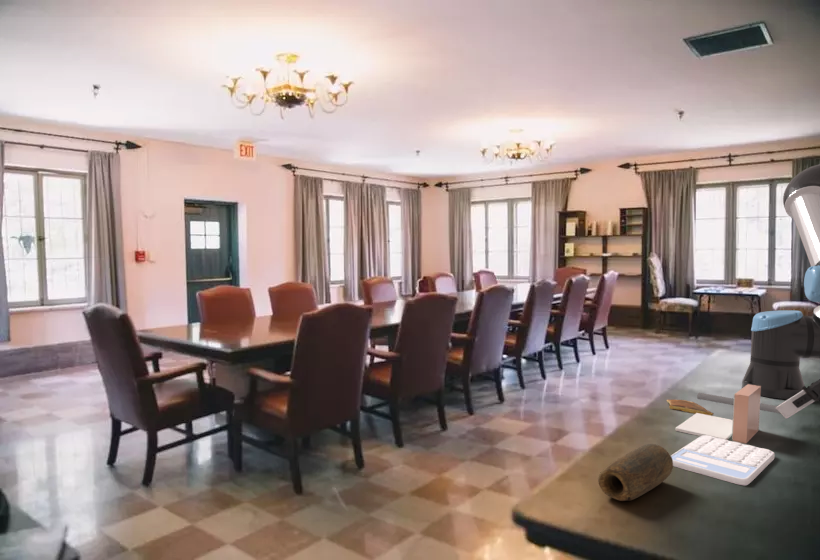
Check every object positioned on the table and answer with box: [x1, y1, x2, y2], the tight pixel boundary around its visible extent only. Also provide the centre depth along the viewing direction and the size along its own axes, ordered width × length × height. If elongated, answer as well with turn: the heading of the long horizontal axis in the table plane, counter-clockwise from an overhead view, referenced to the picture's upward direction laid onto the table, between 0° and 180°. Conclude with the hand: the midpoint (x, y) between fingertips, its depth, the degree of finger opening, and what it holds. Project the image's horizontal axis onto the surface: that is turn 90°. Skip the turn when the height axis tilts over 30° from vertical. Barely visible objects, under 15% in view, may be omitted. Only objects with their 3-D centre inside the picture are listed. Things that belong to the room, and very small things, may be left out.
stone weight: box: [597, 443, 674, 502], centre depth 90 cm, size 15×7×7 cm, turn 134°
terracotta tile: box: [731, 384, 761, 445], centre depth 118 cm, size 12×3×10 cm, turn 137°
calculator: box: [670, 435, 776, 486], centre depth 104 cm, size 13×20×2 cm, turn 134°
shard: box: [666, 399, 714, 416], centre depth 136 cm, size 11×8×2 cm
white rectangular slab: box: [674, 413, 733, 441], centre depth 123 cm, size 16×10×1 cm, turn 137°
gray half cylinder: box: [696, 392, 781, 414], centre depth 143 cm, size 4×20×2 cm, turn 47°
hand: (781, 412), depth 113 cm, fingers closed
